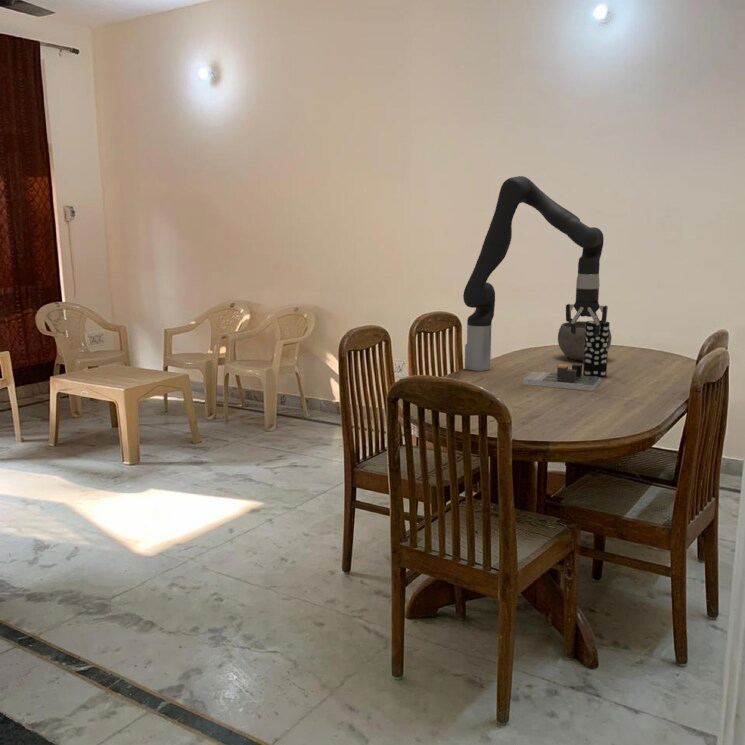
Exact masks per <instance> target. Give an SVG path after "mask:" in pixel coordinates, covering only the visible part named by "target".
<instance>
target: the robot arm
mask: <svg viewBox="0 0 745 745" xmlns="http://www.w3.org/2000/svg"><path fill="white" fill-rule="evenodd" d="M522 203H524V204H525V205H528V206H530V207H532V208H533V209H534V210H536V211H538V212H539V213H540V214H541V216H542V217H543V218H544V219H545V220H546V221H547V222H548V223H549V224H550V225H551V226H553V227H554V228H555V229H557V230H558V231H559V232H561V233H562V234H564V235H566V236H567V237H568V238H569V239H570V240H571V241H572V242H573V243H575V244H576V245H577V246H578V247H580V248H582V253H581V256H580V257H579V259H578V262H577V263H578V264H577V277H576V283H575V284H576V286H575V287H576V288H575V302H574V304H573V303H572V304H570V303H567V304H566V305H565V321H566V323H567V322H570V323H571V333H573V335H575V334H576V321H578V320H579V319H580V317H584V318H585V317H587V318H592V321H595V323H596V325H595V336H597V335H598V334H599V333H600V325H601V324H604V323H605V322H607V316H608V308H609V307H608V305H600V304H599V296H600V266H601V265H600V263H601V262H600V261H601V260H600V259H601V258H602V252H603V248H604V240H605V239H604V233H603V231H602V230H601V229H600V228H599V227H595V226H594V227H590V226H588V225H586V224H585V223H583V222H582V221H581V219H580V217H578V216H577V215H576V214H574V213H572V211H569V210H568V209H566V207H564V206H562V205H560V204H559V203H557V202H556V201H555V200H553V199H552V198H551V197H549V195H547V194H546V193H545V192H544V191H542V190H541V189H540V188H539V187H538V186H537V185H536V184H535V183H534V182H533V181H532V180H531V179H529V178H528V177H526V176H523V175H518V176H514V177H513V176H512V177H509V178H507V179H505V180H504V182H502V184H501V187H500V190H499V194H498V198H497V203H496V206H495V209H494V213H493V217H492V218H491V221H490V224H489V227H488V230H487V233H486V235H485V237H484V241H483V243H482V246H481V250H480V253H479V256H478V257H477V261H476V264H475V265H474V268H473V270H472V273H471V274H470V277H469V279H468V281H467V283H466V285H465V287H464V290H463V296H462V297H463V302H464V304H465V306H467V308H470V309H471V308H472V309H473V308H475V310H474V312H472V314H470V315H469V316H468V317H467V321H466V322H467V323H466V324H467V325H466V334H467V335H466V344H465V345H464V369H465V370H470V371H476V372H477V371H478V372H481V371H482V372H483V371H485V372H486V371H489V370H491V358H492V357H491V356H492V355H491V354H492V353H491V352H492V327H493V326H492V321H493V318H494V316H495V305H496V304H495V303H496V291H495V288H494V286H493V285H492V284H491V283H490V282H487V281H488V279H489V277H490V276H491V274H492V273H493V272H494V271H495V270H496V269H497V268H498V267H499V265H500V264H501V263H502V262H503V261H504V259H505V257H506V256H507V253H508V251H509V248H510V246H511V241H512V237H513V236H512V234H513V230H512V229H513V228H512V227H513V226H512V225H513V224H512V223H513V219H514V215H515V214H516V211H517V210H518V209H517V208H518V207H519V205H520V204H522ZM573 309H574V310H575V311H576V314H575V315H574V316H573V318H572V311H573ZM599 310H600V312H601V313H602V314H601V320H600V318H599V315H598V313H597V312H598V311H599Z"/></svg>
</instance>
